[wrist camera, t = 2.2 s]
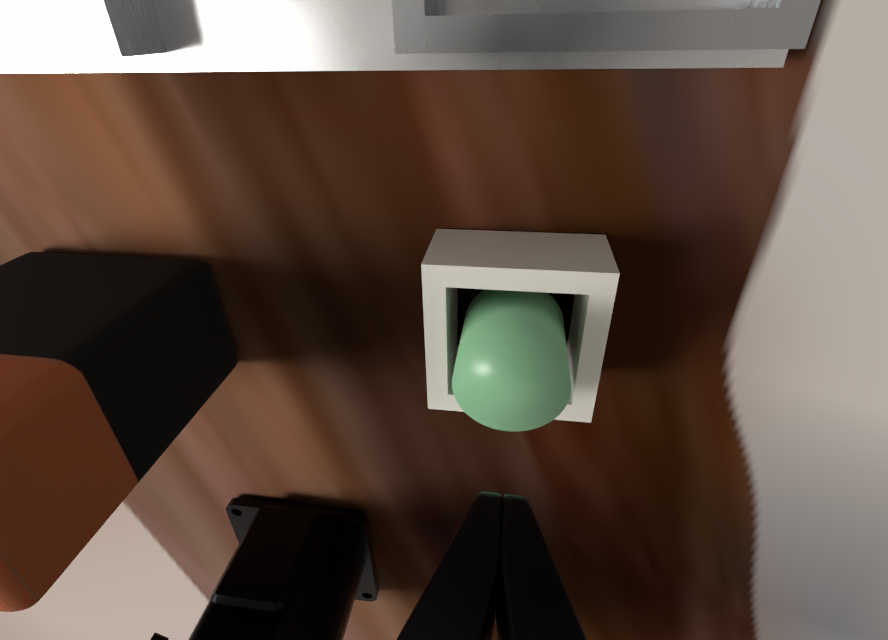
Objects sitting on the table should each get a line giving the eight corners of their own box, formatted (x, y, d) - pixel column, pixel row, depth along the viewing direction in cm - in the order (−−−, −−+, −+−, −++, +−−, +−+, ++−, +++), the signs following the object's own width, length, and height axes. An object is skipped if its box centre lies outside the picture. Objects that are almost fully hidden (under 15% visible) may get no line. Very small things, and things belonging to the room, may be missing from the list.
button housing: (582, 370, 16) (591, 422, 14) (440, 360, 16) (427, 408, 14) (605, 234, 13) (619, 273, 11) (436, 228, 14) (421, 264, 12)
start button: (558, 368, 14) (564, 436, 12) (464, 360, 15) (452, 425, 12) (569, 283, 13) (578, 343, 11) (464, 278, 13) (451, 334, 11)
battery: (28, 245, 16) (-496, 485, 8) (214, 254, 15) (-156, 534, 7) (81, 350, 19) (-282, 622, 10) (246, 363, 18) (-5, 672, 9)
